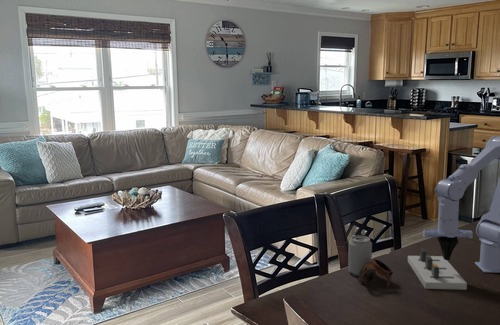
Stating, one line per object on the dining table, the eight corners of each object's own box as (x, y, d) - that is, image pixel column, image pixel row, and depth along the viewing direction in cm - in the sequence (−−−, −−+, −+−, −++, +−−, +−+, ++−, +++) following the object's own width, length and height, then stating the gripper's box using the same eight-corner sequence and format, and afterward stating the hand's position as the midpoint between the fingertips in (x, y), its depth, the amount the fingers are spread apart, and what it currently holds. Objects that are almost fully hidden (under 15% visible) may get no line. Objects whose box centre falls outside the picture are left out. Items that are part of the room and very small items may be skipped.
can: (369, 268, 150) (370, 234, 148) (373, 277, 143) (374, 241, 141) (346, 267, 151) (347, 234, 149) (349, 277, 144) (350, 241, 142)
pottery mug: (361, 275, 146) (375, 255, 144) (385, 294, 141) (399, 274, 139) (347, 279, 136) (362, 257, 134) (373, 300, 131) (388, 278, 129)
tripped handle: (436, 274, 138) (436, 263, 138) (438, 277, 136) (439, 266, 135) (431, 274, 139) (431, 263, 138) (434, 277, 136) (434, 266, 135)
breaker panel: (443, 261, 154) (443, 246, 154) (466, 289, 133) (467, 272, 132) (407, 261, 156) (408, 245, 155) (425, 288, 134) (425, 271, 133)
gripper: (428, 221, 136) (426, 263, 138) (477, 221, 134) (475, 264, 136) (421, 215, 142) (420, 255, 145) (468, 215, 141) (466, 255, 143)
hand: (446, 259), depth 141 cm, fingers closed
